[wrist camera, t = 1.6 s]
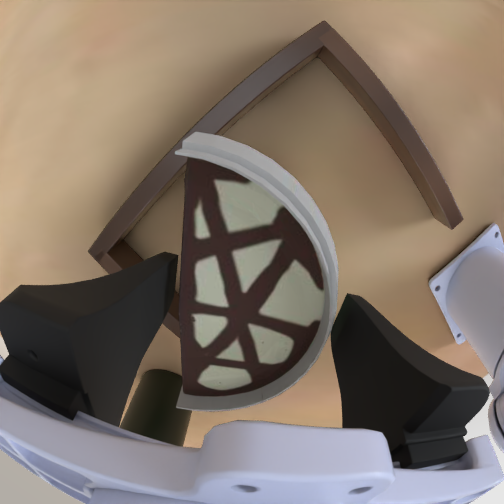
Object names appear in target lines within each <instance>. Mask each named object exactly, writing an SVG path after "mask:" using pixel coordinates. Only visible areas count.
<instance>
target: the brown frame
mask: <svg viewBox="0 0 504 504" xmlns="http://www.w3.org/2000/svg"><path fill="white" fill-rule="evenodd" d="M317 56H318V57H319V58H320V59H321V60H322V61H323V62H324V64H325V65H326V66H327V67H328V68H329V69H330V70H331V71H332V72H333V73H334V74H335V75H336V77H337V78H338V79H339V80H340V81H341V82H342V83H343V84H344V86H345V87H346V88H347V89H348V90H349V91H350V93H351V94H352V95H353V96H354V97H355V99H356V100H357V101H358V102H359V104H360V105H361V106H362V107H363V109H364V110H365V111H366V112H367V114H368V115H369V116H370V118H371V119H372V120H373V122H374V123H375V124H376V126H377V127H378V128H379V130H380V131H381V132H382V134H383V135H384V137H385V138H386V139H387V141H388V142H389V144H390V145H391V147H392V148H393V150H394V151H395V152H396V154H397V155H398V157H399V159H400V160H401V162H402V163H403V165H404V166H405V168H406V169H407V171H408V173H409V174H410V176H411V177H412V179H413V181H414V182H415V184H416V186H417V187H418V189H419V191H420V193H421V194H422V196H423V198H424V200H425V201H426V203H427V205H428V207H429V209H430V210H431V212H432V214H433V216H434V218H435V219H437V220H438V221H440V222H441V223H443V224H444V225H446V226H447V227H448V228H450V229H451V230H452V229H454V228H455V227H456V226H457V225H458V224H459V223H460V222H461V221H462V220H463V217H462V215H461V212H460V210H459V208H458V206H457V204H456V202H455V199H454V197H453V195H452V193H451V191H450V189H449V187H448V185H447V183H446V181H445V179H444V178H443V176H442V174H441V172H440V170H439V168H438V166H437V165H436V163H435V161H434V159H433V158H432V156H431V154H430V152H429V151H428V149H427V147H426V146H425V144H424V142H423V141H422V139H421V138H420V136H419V134H418V133H417V131H416V130H415V128H414V127H413V125H412V124H411V122H410V121H409V119H408V118H407V116H406V115H405V113H404V112H403V111H402V109H401V108H400V106H399V105H398V104H397V102H396V101H395V99H394V98H393V97H392V95H391V94H390V93H389V91H388V90H387V89H386V87H385V86H384V85H383V84H382V82H381V81H380V80H379V79H378V77H377V76H376V75H375V74H374V73H373V71H372V70H371V69H370V68H369V67H368V65H367V64H366V63H365V62H364V61H363V60H362V58H361V57H360V56H359V55H358V54H357V53H356V52H355V51H354V50H353V49H352V47H351V46H350V45H349V44H348V43H347V42H346V41H345V40H344V39H343V38H342V37H341V36H340V35H339V34H338V33H337V32H336V31H335V30H334V29H333V28H332V27H331V26H330V25H329V24H328V23H327V22H326V21H322V22H321V23H319V24H318V25H316V26H315V27H313V28H312V29H310V30H309V31H307V32H306V33H304V34H303V35H301V36H300V37H299V38H297V39H296V40H294V41H293V42H292V43H290V44H289V45H287V46H286V47H285V48H283V49H282V50H281V51H279V52H278V53H277V54H276V55H274V56H273V57H272V58H270V59H269V60H268V61H266V62H265V63H264V64H263V65H261V66H260V67H259V68H258V69H257V70H255V71H254V72H253V73H252V74H250V75H249V76H248V77H247V78H246V79H244V80H243V81H242V82H241V83H240V84H239V85H237V86H236V87H235V88H234V89H233V90H232V91H231V92H229V93H228V94H227V95H226V96H225V97H224V98H223V99H222V100H221V101H219V102H218V103H217V104H216V105H215V106H214V107H213V108H212V109H211V110H210V111H209V112H208V113H207V114H206V115H204V116H203V117H202V118H201V119H200V120H199V121H198V122H197V123H196V124H195V125H194V126H193V127H192V128H191V129H190V130H189V131H188V132H187V133H186V134H185V135H184V136H183V137H182V138H181V139H180V140H179V141H178V142H177V143H176V145H175V146H174V147H173V148H172V149H171V150H170V151H169V152H168V153H167V154H166V155H165V156H164V157H163V158H162V160H161V161H160V162H159V163H158V164H157V165H156V166H155V167H154V168H153V170H152V171H151V172H150V173H149V174H148V175H147V176H146V177H145V179H144V180H143V181H142V182H141V183H140V184H139V186H138V187H137V188H136V189H135V190H134V192H133V193H132V194H131V195H130V196H129V198H128V199H127V200H126V201H125V203H124V204H123V205H122V206H121V208H120V209H119V210H118V211H117V213H116V214H115V215H114V217H113V218H112V219H111V220H110V222H109V223H108V224H107V226H106V227H105V228H104V230H103V231H102V232H101V234H100V235H99V236H98V238H97V239H96V241H95V242H94V243H93V245H92V246H91V248H90V249H89V250H88V252H89V253H90V255H91V256H92V257H93V258H94V259H95V260H96V261H97V262H98V263H99V264H100V265H101V266H102V267H103V268H104V269H105V270H106V271H107V272H108V273H109V274H113V273H116V272H118V271H121V270H123V269H126V268H128V267H131V266H133V265H136V264H138V263H140V262H142V261H143V260H142V259H141V258H140V257H139V256H138V255H137V254H136V253H135V252H134V251H133V250H132V249H131V248H130V247H129V246H128V245H127V244H126V243H125V242H124V240H123V239H124V238H125V237H126V236H127V234H128V233H129V232H130V231H131V230H132V228H133V227H134V226H135V225H136V224H137V223H138V221H139V220H140V219H141V218H142V217H143V216H144V215H145V213H146V212H147V211H148V210H149V209H150V208H151V207H152V206H153V204H154V203H155V202H156V201H157V200H158V199H159V198H160V197H161V196H162V195H163V194H164V192H165V191H166V190H167V189H168V188H169V187H170V186H171V185H172V184H173V183H174V182H175V181H176V180H177V179H178V178H179V177H180V176H181V175H182V174H183V173H184V172H185V171H186V164H187V158H188V156H183V155H177V154H175V151H177V150H180V149H182V144H183V141H184V140H185V139H186V138H188V137H189V136H190V135H192V134H193V133H194V132H201V133H207V134H213V135H219V136H221V135H223V134H224V133H225V132H226V131H227V130H228V129H229V128H230V127H231V126H232V125H233V124H235V123H236V122H237V121H238V120H239V119H240V118H241V117H242V116H244V115H245V114H246V113H247V112H248V111H249V110H250V109H252V108H253V107H254V106H255V105H256V104H257V103H259V102H260V101H261V100H262V99H263V98H264V97H266V96H267V95H268V94H269V93H271V92H272V91H273V90H274V89H275V88H277V87H278V86H279V85H280V84H282V83H283V82H284V81H285V80H287V79H288V78H289V77H290V76H292V75H293V74H294V73H296V72H297V71H298V70H300V69H301V68H302V67H303V66H305V65H306V64H307V63H309V62H310V61H312V60H313V59H314V58H316V57H317ZM162 324H164V325H165V326H166V327H167V328H168V329H169V330H171V331H172V332H173V333H174V334H175V335H177V336H178V337H179V338H180V327H179V294H178V293H177V292H176V291H175V292H174V298H173V300H172V303H171V306H170V308H169V311H168V313H167V315H166V317H165V319H164V321H163V322H162Z"/></svg>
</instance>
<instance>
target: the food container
mask: <svg viewBox="0 0 504 504" xmlns="http://www.w3.org/2000/svg"><path fill="white" fill-rule="evenodd" d="M175 154H177V155H183V156H188V158H187V164H186V173H185V178H184V184H185V203H184V218H183V234H182V251H181V271H180V288H179V327H180V341H181V363H182V388H181V391H180V395H179V398H178V402H177V405H176V408H182V409H187V410H194V411H210V412H212V411H230V410H235V409H241V408H247V407H250V406H253V405H256V404H260V403H263V402H265V401H267V400H269V399H271V398H274V397H276V396H278V395H280V394H281V393H283V392H284V391H286V390H287V389H289V388H290V387H292V386H293V385H295V384H296V383H297V382H298V381H299V380H300V379H301V378H302V377H303V376H304V375H305V374H306V373H307V372H308V371H309V370H310V368H311V367H312V366H313V364H314V363H315V362H316V360H317V359H318V357H319V355H320V353H321V351H322V349H323V347H324V345H325V343H326V341H327V339H328V337H329V335H330V332H331V330H332V326H333V322H334V319H335V315H336V311H337V294H338V263H337V256H336V250H335V245H334V242H333V239H332V236H331V233H330V231H329V228H328V225H327V222H326V221H325V219H324V217H323V215H322V214H321V212H320V210H319V208H318V207H317V205H316V203H315V202H314V200H313V199H312V197H311V196H310V195H309V194H308V193H307V191H306V190H305V189H304V188H303V187H302V186H301V184H300V183H299V182H298V181H297V180H296V179H295V178H294V177H293V176H292V175H291V174H290V173H288V172H287V171H286V170H285V169H284V168H282V167H281V166H280V165H279V164H278V163H276V162H275V161H274V160H272V159H271V158H269V157H267V156H265V155H264V154H262V153H260V152H258V151H257V150H255V149H253V148H251V147H250V146H248V145H245V144H242V143H239V142H237V141H234V140H231V139H228V138H225V137H222V136H219V135H213V134H207V133H201V132H194V133H193V134H192V135H190V136H189V137H188V138H186V139H185V140H184V141H183V144H182V149H180V150H177V151H175Z"/></svg>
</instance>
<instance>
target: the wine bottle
mask: <svg viewBox="0 0 504 504" xmlns="http://www.w3.org/2000/svg"><path fill="white" fill-rule="evenodd" d="M181 388H182V377H181V376H179V375H177V374H174V373H172V372H169V371H164V370H151V371H148V372H146V373H145V374H144V375H143V376H142V378H141V380H140V383H139V385H138V387H137V389H136V391H135V394H134V396H133V398H132V400H131V403H130V405H129V407H128V409H127V412H126V414H125V416H124V418H123V421H122V423H121V425H120V428H122V429H124V430H127V431H130V432H133V433H136V434H139V435H142V436H145V437H148V438H151V439H154V440H158V441H161V442H165V443H168V444H172V445H176V446H181V447H183V444H184V440H185V436H186V432H187V428H188V424H189V421H190V417H191V413H192V410H187V409H182V408H176V405H177V402H178V398H179V395H180V391H181Z"/></svg>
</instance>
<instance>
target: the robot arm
mask: <svg viewBox="0 0 504 504" xmlns="http://www.w3.org/2000/svg"><path fill="white" fill-rule="evenodd" d="M495 233H496V234H495ZM178 256H179V255H175V254H171V253H167V252H163V253H160V254H158V255H156V256H153V257H151V258H149V259H147V260H145V261H142V262H140V263H138V264H136V265H133V266H131V267H128V268H126V269H123V270H121V271H118V272H116V273H113V274H110V275H106V276H103V277H99V278H96V279H92V280H86V281H81V282H76V283H69V284H60V285H20V286H19V287H17V288H16V289H15V290H14V291H13V292H12V293H11V294H9V295H8V296H7V297H6V298H5V299H4V300H3V301H2V302H0V331H1V334H2V337H3V340H4V342H5V344H6V347H7V350H8V352H9V355H8V357H7V358H6V359H5V360H4V359H3V358H2V357H1V355H0V449H1V450H2V451H3V452H5V453H6V454H7V455H8V456H10V457H11V458H13V459H14V460H15V461H16V462H18V463H19V464H21V465H22V466H23V467H25V468H26V469H28V470H29V471H31V472H32V473H33V474H35V475H36V476H38V477H40V478H41V479H43V480H44V481H46V482H47V483H49V484H51V485H52V486H54V487H56V488H57V489H59V490H61V491H62V492H64V493H66V494H68V495H70V496H72V497H73V498H75V499H77V500H79V501H81V502H83V503H85V504H469V503H471V502H472V501H474V500H475V499H477V498H479V497H480V496H482V495H483V494H485V493H486V492H488V491H489V490H491V489H492V488H494V487H495V486H497V485H498V484H499V483H501V482H502V481H503V480H504V474H503V472H502V469H501V466H500V464H499V461H498V459H497V456H496V454H495V451H494V449H493V446H492V444H491V442H490V439H489V437H488V435H484V436H480V437H476V438H472V439H470V440H468V441H466V442H465V441H464V438H463V436H465V435H466V434H467V430H466V428H465V425H466V424H467V423H468V422H469V421H470V420H471V419H472V418H473V417H474V416H475V415H476V414H477V413H478V412H479V411H480V410H481V409H482V407H483V406H484V405H485V403H486V401H487V400H488V397H489V393H490V392H491V394H492V396H493V397H494V399H493V400H492V402H491V404H490V406H489V411H488V418H489V426H490V431H491V434H492V437H493V439H494V441H495V443H496V444H497V446H498V447H499V449H500V450H501V451H502V452H503V453H504V244H503V240H502V237H501V233H500V230H499V227H498V225H497V224H495V223H492V224H491V225H490V226H489V227H488V228H487V229H486V230H485V231H484V232H483V233H482V234H481V235H480V236H479V237H478V238H477V239H476V240H474V241H473V242H472V243H471V244H470V245H469V246H468V247H467V248H466V249H465V250H464V251H463V252H461V253H460V254H459V255H458V256H457V257H456V258H455V259H454V260H452V261H451V262H450V263H449V264H448V265H447V266H445V267H444V268H443V269H442V270H441V271H440V272H438V273H437V274H436V275H435V276H434V277H432V278H431V279H430V281H429V287H430V289H431V291H432V293H433V295H434V297H435V298H436V300H437V302H438V304H439V306H440V308H441V310H442V312H443V315H444V317H445V319H446V321H447V323H448V325H449V327H450V329H451V332H452V334H453V336H454V338H455V341H456V342H457V344H461V343H463V342H464V341H465V340H467V341H468V342H469V344H470V345H471V346H472V348H473V349H474V351H475V352H476V354H477V355H478V357H479V358H480V360H481V362H482V363H483V365H484V366H485V368H486V369H487V371H488V373H489V374H490V376H491V377H492V378H493V379H494V380H493V382H492V384H491V385H490V386H489V388H488V386H487V384H486V383H485V381H484V380H483V379H482V378H481V377H479V376H476V375H473V374H471V373H468V372H465V371H463V370H460V369H458V368H456V367H454V366H452V365H450V364H448V363H446V362H444V361H442V360H440V359H438V358H437V357H435V356H433V355H432V354H430V353H428V352H427V351H425V350H424V349H422V348H421V347H420V346H418V345H417V344H415V343H414V342H413V341H411V340H410V339H409V338H407V337H406V336H405V335H404V334H403V333H401V332H400V331H399V330H398V329H397V328H396V327H395V326H393V325H392V324H391V323H390V322H389V321H388V320H387V319H386V318H385V317H384V316H383V315H381V314H380V313H379V312H378V311H377V310H376V309H375V308H374V307H373V306H372V305H371V304H369V303H368V302H367V301H366V300H365V299H363V298H362V297H361V296H358V295H353V294H348V293H347V295H346V297H345V300H344V302H343V304H342V306H341V309H340V311H339V313H338V315H337V318H336V320H335V322H334V324H333V326H332V330H331V347H332V354H333V359H334V364H335V368H336V373H337V378H338V383H339V387H340V393H341V401H342V426H343V428H330V427H314V426H302V425H292V424H283V423H275V422H267V421H250V420H236V421H232V422H228V423H224V424H219V425H217V426H214V427H213V428H212V429H211V430H210V431H209V432H208V433H207V434H206V435H205V436H204V441H203V445H202V447H201V448H191V447H181V446H176V445H172V444H168V443H165V442H161V441H158V440H154V439H151V438H148V437H145V436H142V435H139V434H136V433H133V432H130V431H127V430H124V429H122V428H119V425H120V421H121V418H122V414H123V411H124V408H125V405H126V402H127V399H128V396H129V393H130V390H131V387H132V384H133V382H134V379H135V376H136V374H137V371H138V368H139V366H140V363H141V361H142V359H143V357H144V355H145V353H146V351H147V349H148V347H149V345H150V344H151V342H152V340H153V338H154V337H155V335H156V333H157V331H158V330H159V328H160V326H161V324H162V322H163V321H164V319H165V317H166V315H167V313H168V311H169V308H170V306H171V303H172V300H173V298H174V292H175V282H176V273H177V264H178ZM436 286H438V287H437V288H436ZM435 288H436V289H435ZM489 390H490V391H489Z"/></svg>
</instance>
